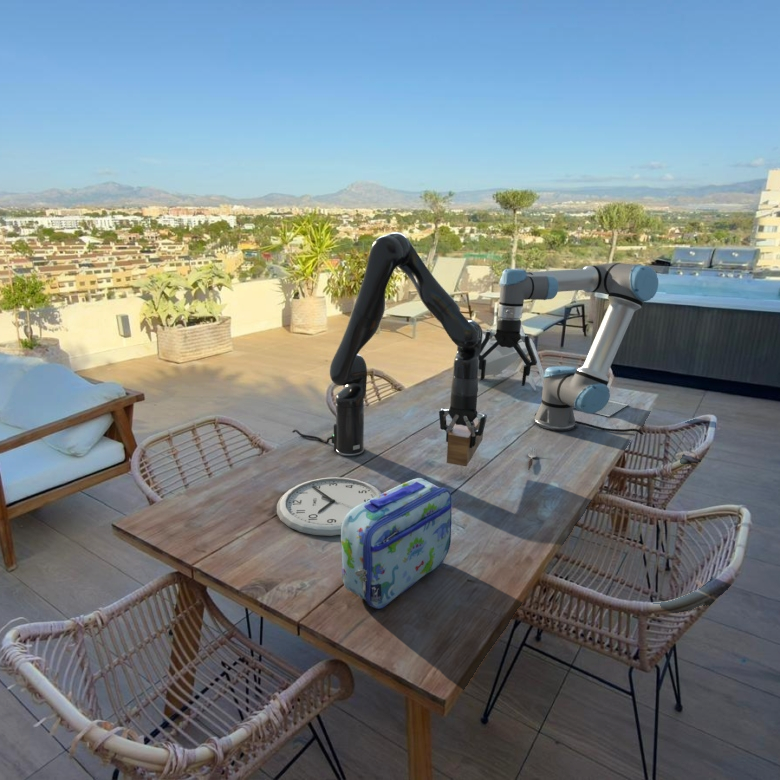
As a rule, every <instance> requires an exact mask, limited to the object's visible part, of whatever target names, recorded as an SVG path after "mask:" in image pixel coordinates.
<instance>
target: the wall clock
mask: <svg viewBox="0 0 780 780" xmlns="http://www.w3.org/2000/svg"><path fill="white" fill-rule="evenodd" d="M382 493H383V492H382V491H381V490H380V489H379V488H377V487H376V486H374V485H372V484H371V483H369V482H365V481H362V480H359V479H355V478H349V477H338V476H337V477H335V476H333V477H332V476H331V477H322V478H317V479H312V480H307V481H305V482H302V483H299V484H297V485H295V486H293V487H292V488H290V489H288V490H287V491H286V492H285V493H284V494H283V495H281V496H280V498H279V499H278V502H277V503H276V515H277V517H278V518H279V520H280V521H281V522H282V523H283V524H285V525H286V526H287V527H288V528H290V529H293V530H295V531H297V532H299V533H303V534H308V535H312V536H327V537H328V536H329V537H331V536H332V537H333V536H341V528H342V523H343V520H344V518H345V517H346V515H347V514H348V512H349V511H350V510H351V509H353V508H354V507H356V506H358V505H360V504H362V503H364V502H366V501H368V500H370V499H372V498H374V497H376V496H378V495H380V494H382Z"/></svg>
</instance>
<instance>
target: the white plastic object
mask: <svg viewBox="0 0 780 780" xmlns="http://www.w3.org/2000/svg"><path fill="white" fill-rule="evenodd" d="M520 335H521V336H526V334H525V331H524V327H523V325H522V323H521V328H520ZM485 336H486V334H485V333H482V342H483V341H484V339H485ZM496 342H497V340H496V339H495V340H490V339H489V341H488V342H487V344H486V346H485V347H484V349H483V350H482V352H481V353H480V355H483V354H484V353H485V352H486V351H487V350H488V349H489V348H490V347H491V346H492V345H493V344H495V343H496ZM481 344H482V343H481ZM518 344H519V345H520V347H521V349H522V350H523V352H524V353H525V354H526V355H529V354H528V351H527V348H526V346H525V342H523V341H522V340H521V341H519V342H518ZM530 344H531V347H532V349H533V352H534V355H535V357H536V360H537V364H536V367H537V371H538V374H539V376H540V379H541V382H542V383H543V380H544V374H545V370H544V369H543V366H542V362H541V360H540V356H539V355H538V351H537V347H536V344H535V343H534V341H533V339H532V338H531V337H530ZM520 359H521V357H520V355H519V354H518V352H517V351H516V350H515V349H514V347H512V348H508V347H501V346H500V345H498V346H497V347H496V348H495V349H494V350H493V351H491V352H490V353H489V354H488V355H487V356H486V357H485V358H484V360H486V368H485V377H486V376H493V377H495V376H498V375H502V374H503V371H504V370H505V369H507V368H509V367H510V366H511V365H512V364H515V362H517V361H518V360H520ZM521 361H522V364H523V367H524V366H525V365H526V364H525V363H524V361H523V360H522V359H521ZM478 377H481V370H479V361H478ZM527 379H528V382H529V384H530V387H532V389H533V390H534V391H537V390H536V389H537V387H536V383H535V380H534V376H533V373H532V370H531V369H530V374H529V376H527Z"/></svg>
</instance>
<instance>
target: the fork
mask: <svg viewBox="0 0 780 780" xmlns="http://www.w3.org/2000/svg"><path fill="white" fill-rule="evenodd" d="M537 454H538V448H536V447H531V446H530V447H529V451H528V457H529V458H530V459H529V460H528V463H527V464H528V467H527V468H528V469H527V470H528V471H530V469H531V467H532V465H533V458H537V456H538V455H537Z"/></svg>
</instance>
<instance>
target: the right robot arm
mask: <svg viewBox="0 0 780 780" xmlns="http://www.w3.org/2000/svg"><path fill="white" fill-rule="evenodd" d="M499 288H500V289H499V302H498V309H497V317H498V318H497V319H496V320H497V321H496V330H495V332H494V331H492V330H487V331H486V333H485V339H484V341H483V342H482V344H481V349H480V353H481V352H482V350H483V349H484V347H485V346H486V344H487V342H488V341H489V340H490V339H492V338H493V337H494V339H495V340H497V342H496V343H495V344H493V345H492V346H491V347H490V348H489V349H488V350H487V351H486V352H485V353H484V354H483V355H480V354H479V370H481V376H480V381H484V380H485V377H486V376H485V368H486V360H484V358H485V357H486V356H487V355H488V354H489V353H490V352H491V351H493V350H494V349H495V348H496V347H497V346H498V345H500V346H501V347H508V348H512V347H514V349H515V350H516V351H517V352H518V354H519V355H520V359H521V361H522V360H523V361H524V363H525V364H526V365H525V366H524V365H523V370H522V378H521V386H522V387H525V386H526V381H527V377H528V376H529V374H530V370H531V368H532V367H533V366H537V360H536V357H535V355H534V352H533V349H532V347H531V344H530V338H531V337H530V335H529V334H525V336H521V335H520V328H521V324H522V320H521V319H522V318H523V311H524V310H523V308H524V302H525V301H530V300H533V301H534V300H535V301H537V300H538V301H540V300H541V301H546V300H553V299H554V298H555V297H556V296H557V294H558V293H561V292H576V291H583V292H585V293H598V294H603V295H607V300H608V301H609V305H608V307H607V309H606V311H605V314H604V315H603V318H602V321H601V323H600V325H599V327H598V330H597V333H596V334H595V337H594V339H593V341H592V344H591V345H590V348H589V351H588V354H587V356H586V358H585V360H584V363H583V365H582V366H581V367H579V368H576V367H574V366H566V365H565V366H564V365H562V366H561V365H559V366H558V365H557V366H549V367H547V368H546V369H545V370H544V380H543V382H542V392H541V402H540V405H539V407H538V410H537V411H536V413H535V414H534V424H535V425H536V426H537V427H539V428H542V429H544V430H549V431H556V432H567V431H572V430H574V429H575V428H576V424H578V425H581V426H586V427H589V428H592V429H597V430H602V431H606V432H616V433H617V432H619V433H627V432H637V433H638V434H640V435H641V436H643V435H645V434H644V432H643V431H642V430H640V429H638V428H625V429H622V428H607V427H603V426H598V425H595V424H591V423H588V422H587V423H586V422H582V421H579V420H578V421H577V420H576V418H575V417H576V416H575V413H574V409H575V410H577V411H579V412H581V413H585V414H589V415H590V414H591V415H593V414H596V412H597V411H600V410H601V409H603V408H604V407H605V405H606V404H607V403H608V401H609V400H610V397H611V392H610V391H611V390H610V388H609V387H608V385H609V382H610V380H609V378H608V373H609V370H610V368H611V367H612V364H613V362H614V360H615V357H616V355H617V353H618V350H619V348H620V345H621V343H622V341H623V339H624V338H625V337H624V336H625V334H626V332H627V330H628V327H629V326H630V323H631V321H632V318H633V316H634V314H635V312H636V311H637V310H640V309H642V308H643V305H644V303H645V302H648V301H650V300H652V299H653V298H654V297H655V296H656V293H657V292H658V289H659V278H658V274H657V272H656V270H655V269H654V268H652V267H651V266H648V265H643V264H634V263H623V262H610V263H609V262H608V263H601V264H594V265H586V266H584V267H583V268H574V269H560V270H559V269H558V270H555V269H554V270H540V271H527V270H526V269H522V268H505V269H504V270H503V271H502V275H501V277H500V279H499ZM520 341H521V342H522V341H523V342H525V346H526V348H527V351H528V354H525V353H524V352H523V350H522V349H521V347H520V345H519V344H518V343H519V342H520ZM527 355H528V356H529V357H528V356H527ZM523 361H522V362H523Z"/></svg>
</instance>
